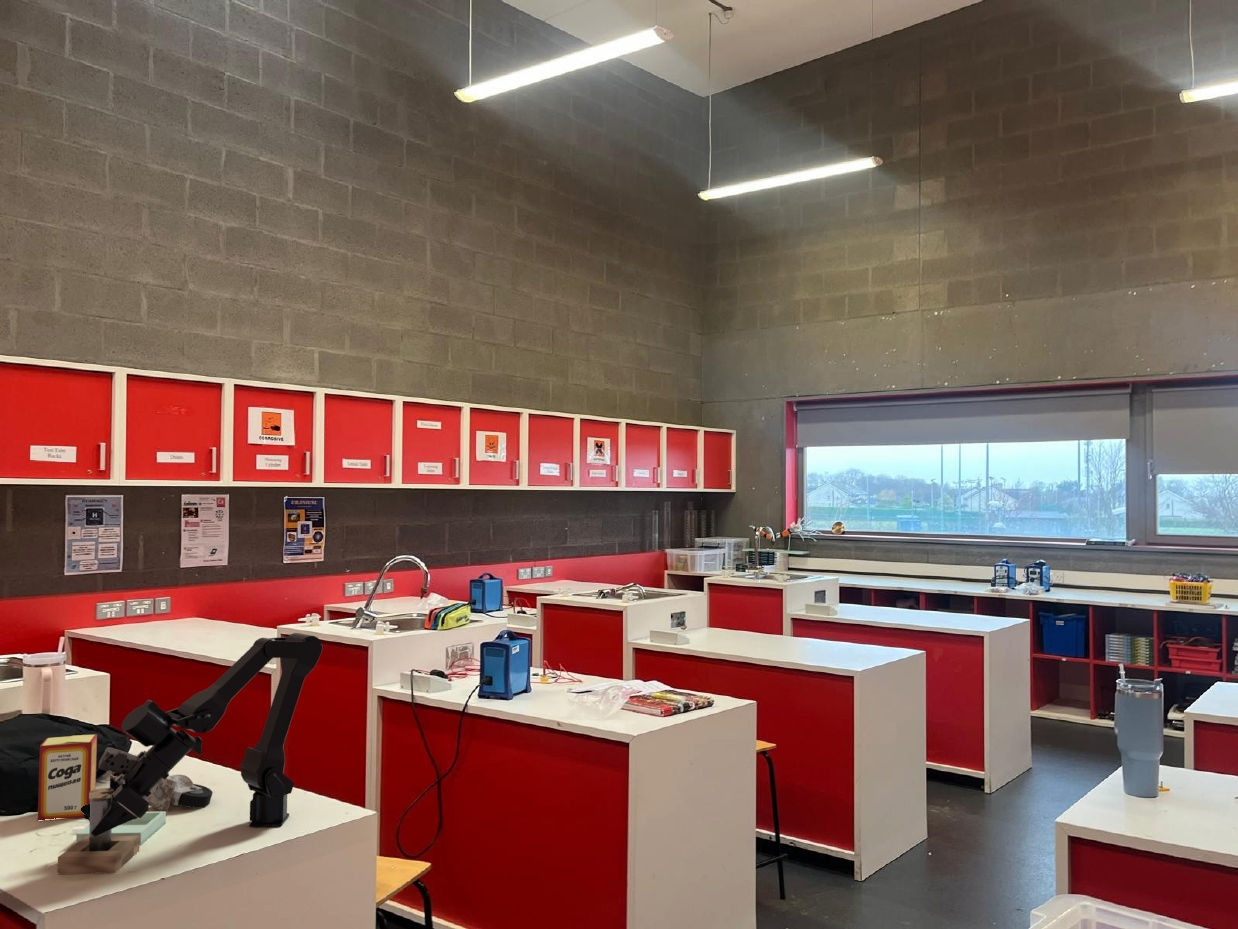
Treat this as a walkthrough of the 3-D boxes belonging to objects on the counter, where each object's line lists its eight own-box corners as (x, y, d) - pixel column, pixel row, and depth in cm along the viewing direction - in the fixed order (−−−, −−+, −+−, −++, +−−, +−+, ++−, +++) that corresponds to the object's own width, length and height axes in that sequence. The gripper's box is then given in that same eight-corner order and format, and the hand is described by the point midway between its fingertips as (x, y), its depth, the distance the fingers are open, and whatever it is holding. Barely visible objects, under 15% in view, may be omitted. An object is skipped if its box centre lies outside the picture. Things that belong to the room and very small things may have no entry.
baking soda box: (37, 821, 192) (40, 744, 193) (44, 811, 198) (47, 736, 199) (89, 816, 195) (91, 740, 196) (94, 806, 202) (97, 732, 202)
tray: (165, 823, 192) (165, 811, 192) (140, 845, 180) (140, 832, 180) (105, 824, 191) (105, 812, 191) (76, 847, 179) (76, 833, 179)
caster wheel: (214, 813, 205) (181, 821, 196) (175, 796, 209) (141, 803, 200) (223, 783, 206) (190, 790, 197) (185, 767, 210) (151, 773, 201)
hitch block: (139, 851, 177) (139, 835, 177) (115, 873, 167) (115, 856, 167) (84, 852, 176) (85, 836, 176) (57, 874, 166) (57, 857, 166)
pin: (115, 858, 174) (117, 787, 174) (105, 866, 170) (107, 794, 170) (93, 858, 173) (95, 788, 174) (82, 867, 169) (85, 795, 170)
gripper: (126, 721, 182) (59, 785, 176) (130, 743, 166) (56, 816, 160) (169, 756, 186) (105, 821, 180) (177, 782, 170) (106, 853, 164)
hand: (92, 826), depth 171 cm, fingers open, 9 cm apart
